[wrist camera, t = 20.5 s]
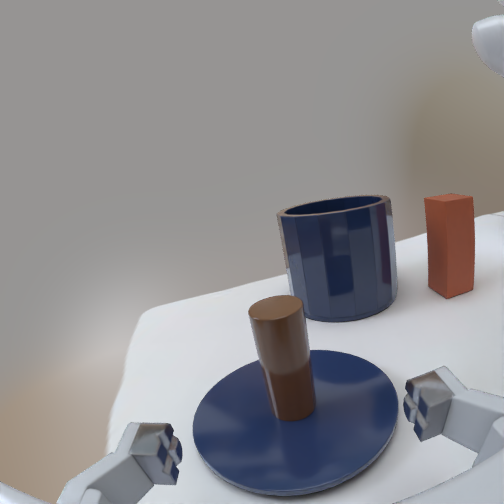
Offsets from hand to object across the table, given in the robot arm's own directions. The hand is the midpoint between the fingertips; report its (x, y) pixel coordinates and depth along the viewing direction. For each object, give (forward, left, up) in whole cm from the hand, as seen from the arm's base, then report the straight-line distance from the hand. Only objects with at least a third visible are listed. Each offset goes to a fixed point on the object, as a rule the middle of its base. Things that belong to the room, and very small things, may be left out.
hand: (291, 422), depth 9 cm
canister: (+9, -24, -7) cm, 26 cm away
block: (-3, -27, -7) cm, 28 cm away
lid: (+4, -5, -6) cm, 9 cm away
